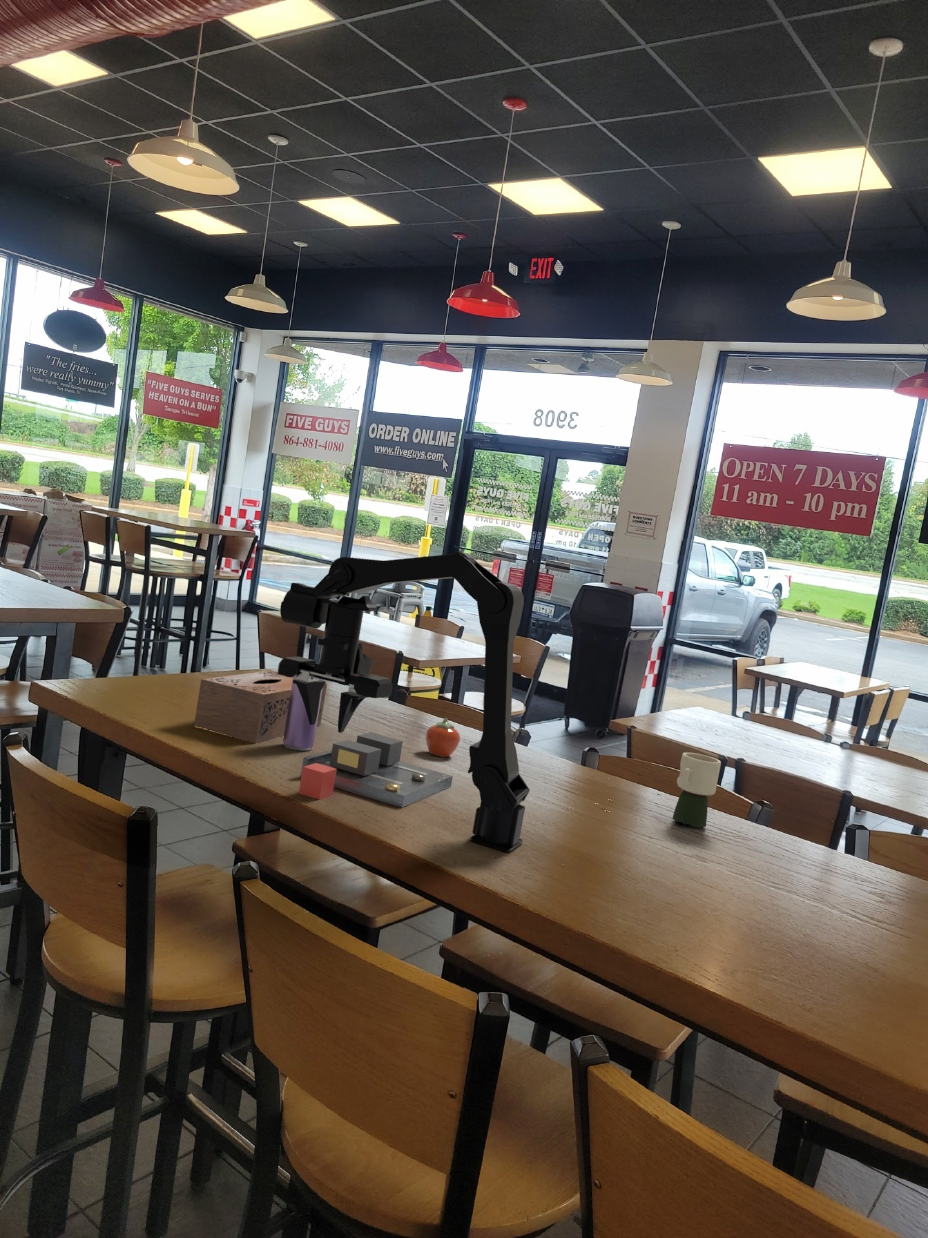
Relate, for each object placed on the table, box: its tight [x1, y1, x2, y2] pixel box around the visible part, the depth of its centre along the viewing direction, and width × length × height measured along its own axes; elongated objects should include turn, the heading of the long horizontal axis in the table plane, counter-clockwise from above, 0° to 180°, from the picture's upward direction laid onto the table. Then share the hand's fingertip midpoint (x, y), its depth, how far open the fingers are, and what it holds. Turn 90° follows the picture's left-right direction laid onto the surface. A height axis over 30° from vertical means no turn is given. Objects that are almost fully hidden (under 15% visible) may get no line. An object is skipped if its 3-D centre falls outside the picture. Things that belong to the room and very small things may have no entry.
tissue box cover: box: [193, 669, 328, 744], centre depth 186 cm, size 26×14×10 cm, turn 160°
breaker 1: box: [329, 739, 381, 776], centre depth 157 cm, size 7×5×4 cm
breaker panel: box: [300, 749, 454, 808], centre depth 160 cm, size 20×20×4 cm
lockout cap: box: [298, 763, 337, 800], centre depth 146 cm, size 4×4×4 cm
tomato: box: [424, 717, 461, 758], centre depth 189 cm, size 7×7×8 cm
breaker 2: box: [356, 732, 404, 766], centre depth 167 cm, size 7×5×4 cm
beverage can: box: [282, 675, 325, 752], centre depth 174 cm, size 6×6×15 cm
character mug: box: [672, 752, 722, 828], centre depth 167 cm, size 11×7×13 cm, turn 138°
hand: (326, 728), depth 145 cm, fingers open, 5 cm apart
